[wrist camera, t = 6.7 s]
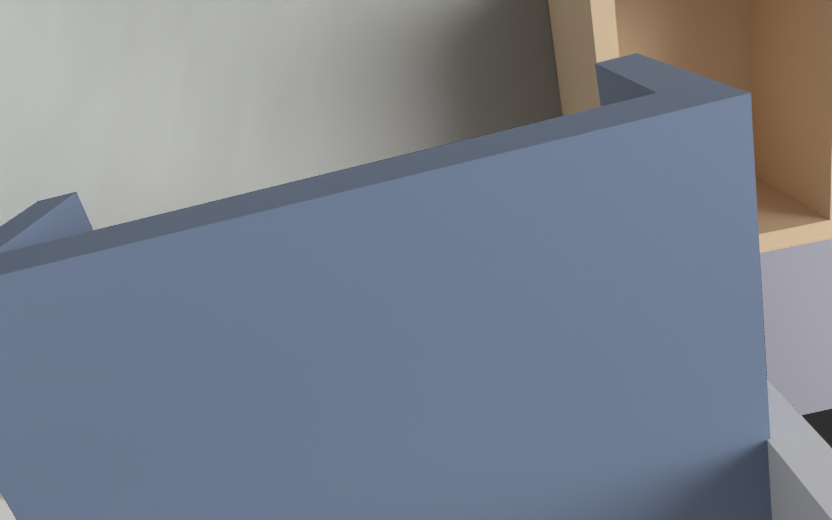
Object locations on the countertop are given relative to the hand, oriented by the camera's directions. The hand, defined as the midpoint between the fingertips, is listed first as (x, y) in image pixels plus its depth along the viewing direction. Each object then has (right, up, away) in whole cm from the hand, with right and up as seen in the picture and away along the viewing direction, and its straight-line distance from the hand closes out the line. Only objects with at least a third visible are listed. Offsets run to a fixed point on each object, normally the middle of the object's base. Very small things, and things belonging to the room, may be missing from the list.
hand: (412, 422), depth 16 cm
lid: (0, 0, 0) cm, 0 cm away
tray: (+11, +12, +16) cm, 22 cm away
